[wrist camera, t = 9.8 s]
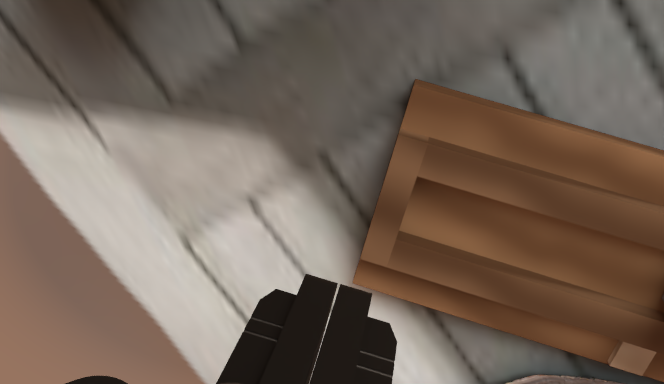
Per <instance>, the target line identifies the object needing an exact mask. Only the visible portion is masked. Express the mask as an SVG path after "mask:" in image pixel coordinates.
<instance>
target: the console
mask: <svg viewBox="0 0 664 384" xmlns="http://www.w3.org/2000/svg"><path fill="white" fill-rule="evenodd" d="M353 283H354V284H357V285H360V286H363V287H366V288H370V289H373V290H376V291H379V292H382V293H385V294H388V295H392V296H395V297H398V298H401V299H404V300H407V301H410V302H414V303H417V304H420V305H423V306H426V307H429V308H432V309H436V310H439V311H442V312H445V313H448V314H451V315H454V316H458V317H461V318H464V319H467V320H470V321H473V322H476V323H480V324H483V325H486V326H489V327H492V328H495V329H498V330H502V331H505V332H508V333H511V334H514V335H517V336H520V337H524V338H527V339H530V340H533V341H536V342H539V343H542V344H546V345H549V346H552V347H555V348H558V349H561V350H564V351H568V352H571V353H574V354H577V355H580V356H583V357H586V358H590V359H593V360H596V361H599V362H602V363H605V364H608V365H609V366H612V367H615V368H618V369H621V370H624V371H627V372H631V373H634V374H637V375H640V376H642V375H643V376H646V377H649V378H652V379H656V380H659V381H662V382H664V302H663V300H662V296H663V294H664V150H660V149H657V148H653V147H650V146H646V145H643V144H639V143H636V142H632V141H629V140H625V139H622V138H618V137H615V136H612V135H608V134H605V133H601V132H598V131H594V130H591V129H587V128H584V127H580V126H577V125H573V124H570V123H566V122H563V121H560V120H556V119H553V118H549V117H546V116H542V115H539V114H535V113H532V112H528V111H525V110H521V109H518V108H514V107H511V106H507V105H504V104H501V103H497V102H494V101H490V100H487V99H483V98H480V97H476V96H473V95H469V94H466V93H462V92H459V91H455V90H452V89H449V88H445V87H442V86H438V85H435V84H431V83H428V82H424V81H421V80H417V79H415V82H414V86H413V89H412V92H411V95H410V98H409V102H408V105H407V108H406V111H405V115H404V118H403V121H402V124H401V127H400V131H399V134H398V137H397V140H396V144H395V147H394V150H393V153H392V156H391V160H390V163H389V166H388V169H387V173H386V176H385V179H384V182H383V185H382V189H381V192H380V195H379V198H378V202H377V205H376V208H375V211H374V214H373V218H372V221H371V224H370V227H369V231H368V234H367V237H366V240H365V243H364V247H363V250H362V253H361V256H360V260H359V263H358V266H357V269H356V273H355V276H354V279H353Z"/></svg>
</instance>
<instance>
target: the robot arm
mask: <svg viewBox="0 0 664 384" xmlns="http://www.w3.org/2000/svg"><path fill="white" fill-rule="evenodd" d="M337 284H338V283H335V282H331V281H328V280H325V279H322V278H318V277H315V276H312V275H308V274H306V275H305V277H304V280H303V282H302V284H301V287H300V289H299V291H298V294H297V295H294V294H291V293H288V292H284V291H281V290H278V289H275V290H274V291H272V292H271V293H269V294H268V295H266V296H265V297H263V298H262V299H260V301H259V302H258V304H257V306H256V308H255V310H254V312H253V314H252V316H251V319H250V320H249V322H248V324H247V325H246V327H245V330H244V332H243V333H242V335H241V337H240V339H239V341H238V343H237V345H236V347H235V349H234V350H233V352H232V354H231V356H230V358H229V360H228V362H227V364H226V366H225V368H224V370H223V372H222V373H221V375H220V377H219V379H218V381H217V383H216V384H392V376H393V370H394V361H395V354H396V346H397V341H396V338H395V336H394V333H393V331H392V328H391V326H390V323H387V322H383V321H380V320H377V319H373V318H370V317H367V316H368V311H369V307H370V302H371V297H372V293H368V292H365V291H362V290H358V289H355V288H352V287H348V286H345V285H342V284H340V287H339V290H338V294H337V297H336V300H335V303H334V306H333V310H332V313H331V316H330V319H329V322H328V326H327V329H326V332H325V335H324V338H323V334H324V331H325V327H326V324H327V320H328V317H329V313H330V309H331V306H332V302H333V299H334V295H335V292H336V288H337ZM322 338H323V342H322ZM321 342H322V345H321ZM320 345H321V348H320ZM319 348H320V351H319ZM318 352H319V355H318ZM317 355H318V358H317ZM316 359H317V361H316ZM315 362H316V364H315ZM314 365H315V367H314ZM313 368H314V371H313ZM312 371H313V374H312ZM311 375H312V377H311ZM310 378H311V380H310ZM309 381H310V383H309ZM66 384H128V383H126V382H124V381H122V380H119V379H117V378H113V377H108V376H90V377H85V378H81V379H77V380H74V381H72V382H69V383H66Z"/></svg>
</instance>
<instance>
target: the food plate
mask: <svg viewBox="0 0 664 384" xmlns="http://www.w3.org/2000/svg"><path fill="white" fill-rule="evenodd" d="M580 377H581V376H578V377H575V376H573V377H570V376H563V375H562V376H561V377H560V376H559V377H558V376H556V375H554V376H550V375H538V374H537V375H533V376H528V377H526V378H525V377H524V378H520V379H517V380H514V382H510V383H509V382H508V383H505V384H625V383H620V382H618V383H617V382H612V381H606V380H600V379H595V378H594V379H595V380H593V379H588V378H580ZM591 378H593V377H591Z"/></svg>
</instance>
